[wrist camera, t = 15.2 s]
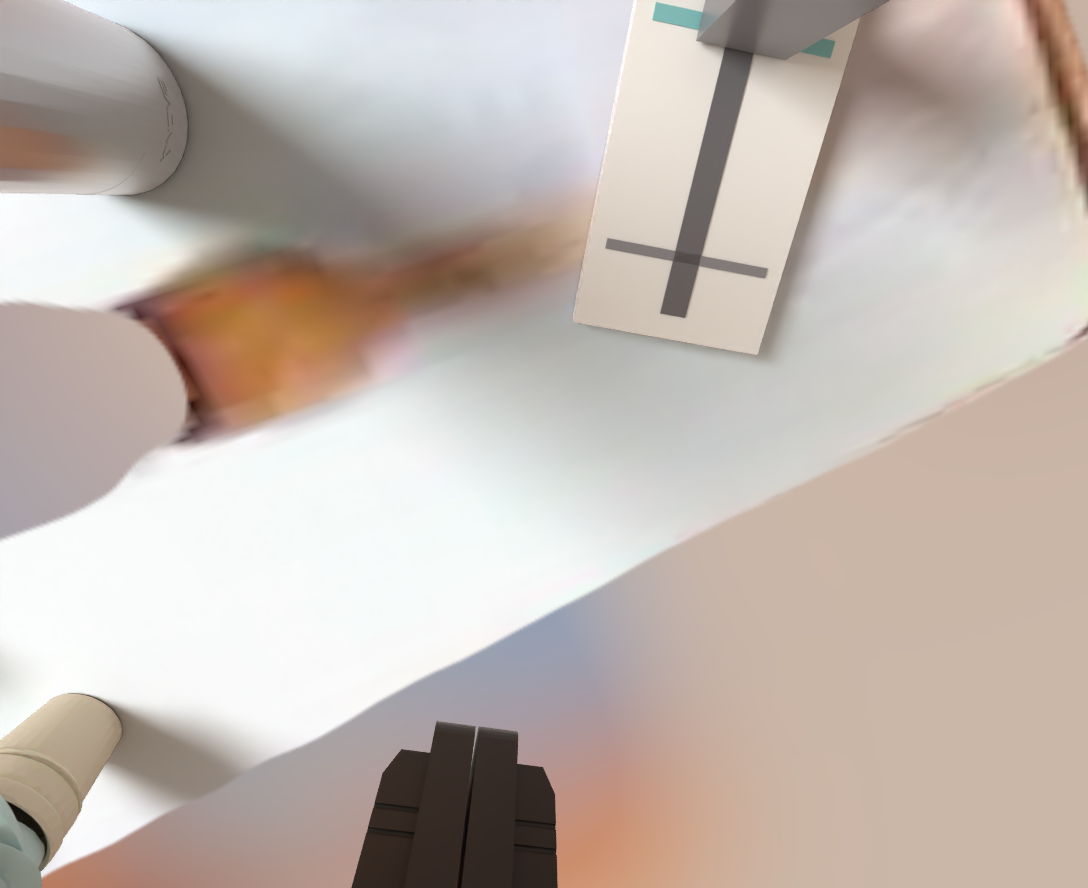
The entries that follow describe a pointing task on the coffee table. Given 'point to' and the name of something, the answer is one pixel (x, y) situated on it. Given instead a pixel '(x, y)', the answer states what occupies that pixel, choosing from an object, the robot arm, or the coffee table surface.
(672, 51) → the plate
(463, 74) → the coffee table surface
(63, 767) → the ice cream cone
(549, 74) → the coffee table surface
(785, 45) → the post
